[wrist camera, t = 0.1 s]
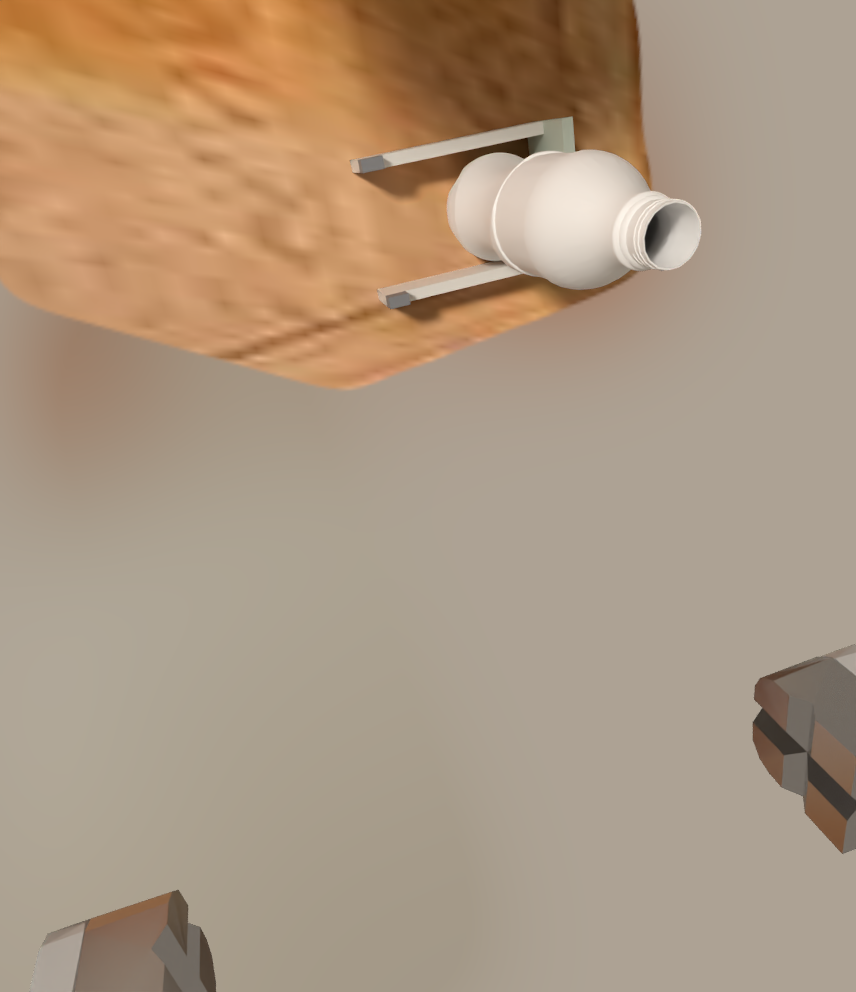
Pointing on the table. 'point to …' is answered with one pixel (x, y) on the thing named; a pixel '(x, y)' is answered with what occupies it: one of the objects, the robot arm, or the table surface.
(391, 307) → the bay
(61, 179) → the table surface
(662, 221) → the water bottle
